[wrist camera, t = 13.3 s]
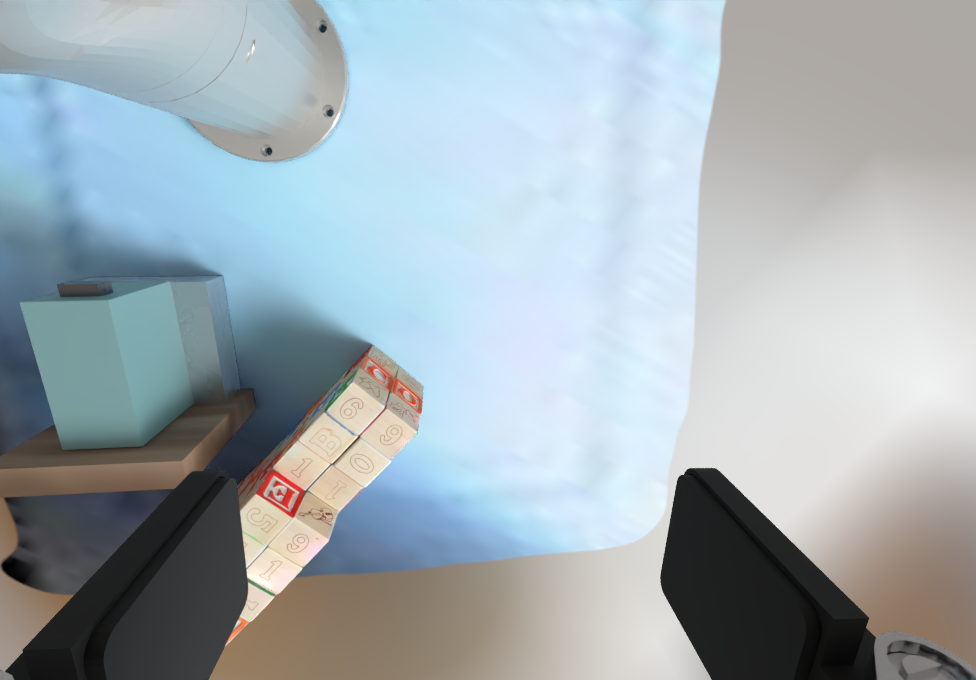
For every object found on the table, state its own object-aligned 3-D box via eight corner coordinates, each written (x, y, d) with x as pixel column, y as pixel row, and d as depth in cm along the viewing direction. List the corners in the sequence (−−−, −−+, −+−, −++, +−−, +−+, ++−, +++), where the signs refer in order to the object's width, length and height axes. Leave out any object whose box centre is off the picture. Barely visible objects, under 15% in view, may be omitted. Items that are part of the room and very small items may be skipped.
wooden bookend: (78, 277, 38) (-79, 312, 26) (235, 275, 39) (150, 308, 28) (112, 414, 41) (-14, 498, 30) (255, 409, 42) (187, 488, 31)
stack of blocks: (372, 341, 42) (345, 397, 30) (425, 385, 44) (419, 455, 32) (222, 500, 45) (145, 608, 33) (277, 536, 47) (222, 651, 35)
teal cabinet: (96, 271, 35) (15, 289, 28) (167, 270, 36) (105, 287, 29) (128, 405, 38) (62, 450, 32) (194, 403, 39) (142, 446, 32)
